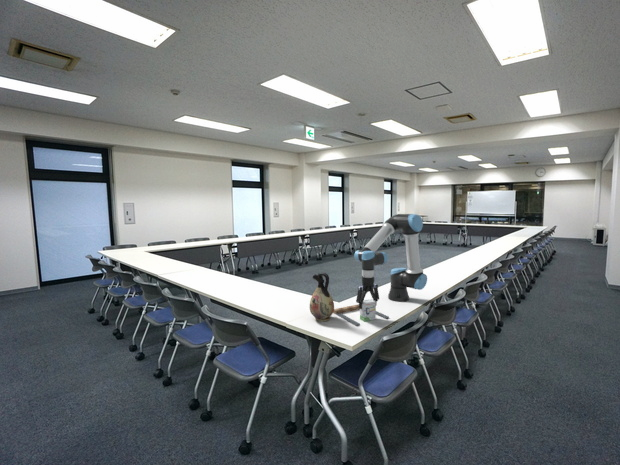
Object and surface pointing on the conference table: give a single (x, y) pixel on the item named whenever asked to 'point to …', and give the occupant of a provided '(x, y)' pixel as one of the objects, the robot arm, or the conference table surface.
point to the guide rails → (357, 322)
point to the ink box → (369, 310)
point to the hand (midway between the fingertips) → (367, 312)
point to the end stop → (347, 309)
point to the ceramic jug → (321, 299)
